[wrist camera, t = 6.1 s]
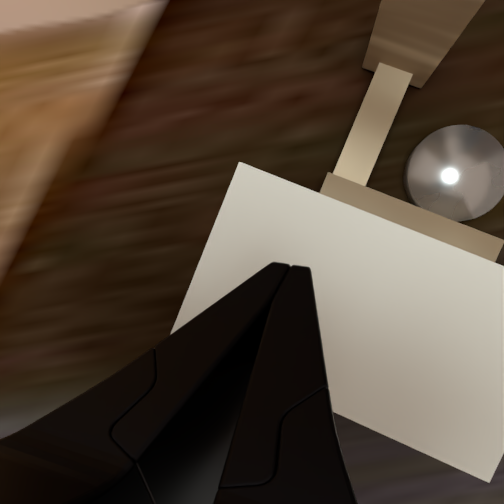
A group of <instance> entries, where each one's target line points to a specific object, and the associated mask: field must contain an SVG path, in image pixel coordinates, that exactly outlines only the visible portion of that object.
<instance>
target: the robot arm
mask: <svg viewBox="0 0 504 504" xmlns="http://www.w3.org/2000/svg"><path fill="white" fill-rule="evenodd" d="M328 388H329V385H328V379H327V372H326V365H325V359H324V352H323V345H322V339H321V332H320V325H319V319H318V312H317V306H316V299H315V292H314V286H313V279H312V272H311V269H310V267H307V266H300V265H292V266H290V265H289V264H286V263H280V262H271V263H269V264H268V265H267V266H265V267H264V268H262V269H261V270H260V271H258V272H257V273H255V274H254V275H253V276H251V277H250V278H249V279H247V280H246V281H244V282H243V283H242V284H240V285H239V286H237V287H236V288H235V289H233V290H232V291H230V292H229V293H228V294H226V295H225V296H223V297H222V298H221V299H219V300H218V301H217V302H215V303H214V304H212V305H211V306H210V307H208V308H207V309H205V310H204V311H203V312H201V313H200V314H198V315H197V316H196V317H194V318H193V319H191V320H190V321H189V322H187V323H186V324H185V325H183V326H182V327H180V328H179V329H178V330H176V331H175V332H173V333H172V334H171V335H169V336H168V337H166V338H165V339H164V340H162V341H161V342H159V343H158V344H157V345H155V349H154V348H151V349H149V350H148V351H147V352H145V353H144V354H143V355H141V356H140V357H138V358H137V359H135V360H134V361H133V362H131V363H130V364H128V365H127V366H125V367H124V368H122V369H121V370H119V371H118V372H116V373H115V374H113V375H112V376H110V377H109V378H107V379H105V380H104V381H102V382H100V383H99V384H97V385H96V386H94V387H92V388H91V389H89V390H88V391H86V392H84V393H82V394H81V395H79V396H77V397H76V398H74V399H72V400H71V401H69V402H67V403H66V404H64V405H62V406H61V407H59V408H57V409H55V410H54V411H52V412H50V413H49V414H47V415H45V416H44V417H42V418H40V419H39V420H37V421H35V422H33V423H32V424H30V425H28V426H27V427H25V428H23V429H21V430H19V431H18V432H16V433H13V434H11V435H9V436H7V437H5V438H2V439H0V504H358V503H357V500H356V497H355V494H354V490H353V487H352V484H351V481H350V477H349V474H348V471H347V468H346V464H345V461H344V457H343V454H342V450H341V446H340V442H339V439H338V435H337V431H336V425H335V420H334V415H333V410H332V404H331V397H330V391H329V389H328Z"/></svg>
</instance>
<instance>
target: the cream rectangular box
mask: <svg viewBox="0 0 504 504" xmlns="http://www.w3.org/2000/svg"><path fill="white" fill-rule="evenodd" d="M271 262H280V263H286V264H289V265H290V266H292V265H300V266H307V267H310V269H311V272H312V279H313V286H314V292H315V299H316V306H317V312H318V319H319V325H320V332H321V339H322V345H323V352H324V359H325V365H326V372H327V379H328V385H329V388H328V389H329V391H330V397H331V404H332V410H333V412H335V413H337V414H339V415H341V416H343V417H346V418H348V419H350V420H352V421H354V422H357V423H359V424H361V425H363V426H365V427H368V428H370V429H372V430H374V431H376V432H379V433H381V434H383V435H385V436H387V437H390V438H392V439H394V440H396V441H398V442H400V443H403V444H405V445H407V446H409V447H411V448H414V449H416V450H418V451H420V452H422V453H425V454H427V455H429V456H431V457H433V458H436V459H438V460H440V461H442V462H444V463H447V464H449V465H451V466H453V467H455V468H458V469H460V470H462V471H464V472H466V473H468V474H471V475H473V476H475V477H477V478H479V479H482V480H484V481H486V482H488V483H490V481H491V479H492V476H493V474H494V472H495V470H496V468H497V466H498V464H499V462H500V460H501V458H502V456H503V453H504V266H502V265H500V264H497V263H495V262H492V261H489V260H487V259H484V258H482V257H479V256H477V255H474V254H472V253H469V252H467V251H464V250H462V249H459V248H457V247H454V246H452V245H449V244H446V243H444V242H441V241H439V240H436V239H434V238H431V237H429V236H426V235H424V234H421V233H419V232H416V231H414V230H411V229H408V228H406V227H403V226H401V225H398V224H396V223H393V222H391V221H388V220H386V219H383V218H381V217H378V216H376V215H373V214H371V213H368V212H365V211H363V210H360V209H358V208H355V207H353V206H350V205H348V204H345V203H343V202H340V201H338V200H335V199H333V198H330V197H327V196H325V195H322V194H320V193H317V192H315V191H312V190H310V189H307V188H305V187H302V186H300V185H297V184H295V183H292V182H290V181H287V180H284V179H282V178H279V177H277V176H274V175H272V174H269V173H267V172H264V171H262V170H259V169H257V168H254V167H252V166H249V165H246V164H244V163H241V162H239V164H238V166H237V169H236V171H235V174H234V176H233V179H232V181H231V184H230V186H229V189H228V191H227V194H226V196H225V199H224V201H223V204H222V206H221V209H220V211H219V214H218V216H217V219H216V221H215V224H214V226H213V229H212V231H211V234H210V236H209V239H208V241H207V244H206V246H205V249H204V251H203V254H202V256H201V259H200V261H199V264H198V266H197V269H196V271H195V274H194V276H193V279H192V281H191V284H190V286H189V289H188V291H187V294H186V296H185V299H184V301H183V304H182V306H181V309H180V311H179V314H178V316H177V319H176V321H175V324H174V326H173V329H172V331H171V334H172V333H173V332H175V331H176V330H178V329H179V328H180V327H182V326H183V325H185V324H186V323H187V322H189V321H190V320H191V319H193V318H194V317H196V316H197V315H198V314H200V313H201V312H203V311H204V310H205V309H207V308H208V307H210V306H211V305H212V304H214V303H215V302H217V301H218V300H219V299H221V298H222V297H223V296H225V295H226V294H228V293H229V292H230V291H232V290H233V289H235V288H236V287H237V286H239V285H240V284H242V283H243V282H244V281H246V280H247V279H249V278H250V277H251V276H253V275H254V274H255V273H257V272H258V271H260V270H261V269H262V268H264V267H265V266H267V265H268V264H269V263H271ZM171 334H170V335H171Z"/></svg>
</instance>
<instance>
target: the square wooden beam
mask: <svg viewBox="0 0 504 504" xmlns="http://www.w3.org/2000/svg"><path fill="white" fill-rule="evenodd" d="M484 1H485V0H382V1H381V4H380V7H379V11H378V14H377V18H376V21H375V25H374V28H373V31H372V35H371V38H370V42H369V45H368V49H367V52H366V55H365V59H364V62H363V66H362V68H365V69H367V70H370V71H373V72H375V74H374V77H373V79H372V81H371V84H370V86H369V88H368V91H367V93H366V96H365V98H364V100H363V103H362V105H361V108H360V110H359V112H358V115H357V117H356V120H355V122H354V124H353V127H352V129H351V131H350V134H349V136H348V139H347V141H346V143H345V146H344V148H343V151H342V153H341V155H340V158H339V160H338V162H337V165H336V167H335V170H334V172H333V174H332V173H329V172H328V174H327V176H326V179H325V181H324V183H323V186H322V188H321V191H320V194H322V195H325V196H327V197H330V198H333V199H335V200H338V201H340V202H343V203H345V204H348V205H350V206H353V207H355V208H358V209H360V210H363V211H365V212H368V213H371V214H373V215H376V216H378V217H381V218H383V219H386V220H388V221H391V222H393V223H396V224H398V225H401V226H403V227H406V228H408V229H411V230H414V231H416V232H419V233H421V234H424V235H426V236H429V237H431V238H434V239H436V240H439V241H441V242H444V243H446V244H449V245H452V246H454V247H457V248H459V249H462V250H464V251H467V252H469V253H472V254H474V255H477V256H479V257H482V258H484V259H487V260H489V261H492V262H495V261H496V259H497V257H498V254H499V252H500V250H501V248H502V246H503V243H504V240H502V239H500V238H497V237H494V236H492V235H489V234H487V233H484V232H482V231H479V230H476V229H474V228H471V227H469V226H466V225H463V224H461V223H458V222H456V221H453V220H451V219H448V218H445V217H443V216H440V215H438V214H435V213H433V212H430V211H427V210H425V209H422V208H420V207H417V206H414V205H412V204H409V203H407V202H404V201H402V200H399V199H396V198H394V197H391V196H389V195H386V194H384V193H381V192H378V191H376V190H373V189H371V188H368V187H366V186H365V185H366V183H367V181H368V178H369V176H370V174H371V171H372V169H373V167H374V164H375V162H376V160H377V157H378V155H379V153H380V150H381V148H382V146H383V143H384V141H385V139H386V136H387V134H388V131H389V129H390V127H391V124H392V122H393V120H394V117H395V115H396V113H397V110H398V108H399V106H400V103H401V101H402V99H403V96H404V94H405V92H406V89H407V87H408V85H409V84H410V85H413V86H415V87H418V88H422V87H423V85H424V84H425V83H426V81H427V80H428V78H429V77H430V76H431V74H432V73H433V71H434V70H435V69H436V67H437V66H438V65H439V63H440V62H441V60H442V59H443V58H444V56H445V55H446V54H447V52H448V51H449V49H450V48H451V47H452V45H453V44H454V43H455V41H456V40H457V38H458V37H459V36H460V34H461V33H462V31H463V30H464V29H465V27H466V26H467V25H468V23H469V22H470V20H471V19H472V18H473V16H474V15H475V14H476V12H477V11H478V9H479V8H480V7H481V5H482V4H483V2H484Z"/></svg>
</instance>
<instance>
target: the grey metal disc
mask: <svg viewBox="0 0 504 504" xmlns="http://www.w3.org/2000/svg"><path fill="white" fill-rule="evenodd" d="M403 181H404V188H405V191H406V194H407V196H408V198H409V200H410V202H411V203H412V205H414V206H417V207H420V208H422V209H425V210H427V211H430V212H433V213H435V214H438V215H440V216H443V217H445V218H448V219H451V220H453V221H456V222H458V221H466V220H470V219H474V218H477V217H479V216H481V215H483V214H485V213H486V212H488V211H489V210H491V209H492V208H493V207H494V206H495V205H496V204H497V203H498V202H499V200H500V199H501V198H502V196H503V194H504V149H503V147H502V146H501V144H500V143H499V142H498V141H497V140H496V139H495V138H494V137H493V136H492V135H491V134H489V133H488V132H486V131H484V130H482V129H480V128H477V127H473V126H468V125H453V126H448V127H444V128H442V129H439V130H437V131H435V132H433V133H432V134H430V135H429V136H427V137H426V138H425V139H424V140H423V141H422V142H421V143H420V144H418V145H417V146H416V147H415V149H414V150H413V151H412V152H411V154H410V155H409V157H408V159H407V162H406V165H405V168H404V175H403Z"/></svg>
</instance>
